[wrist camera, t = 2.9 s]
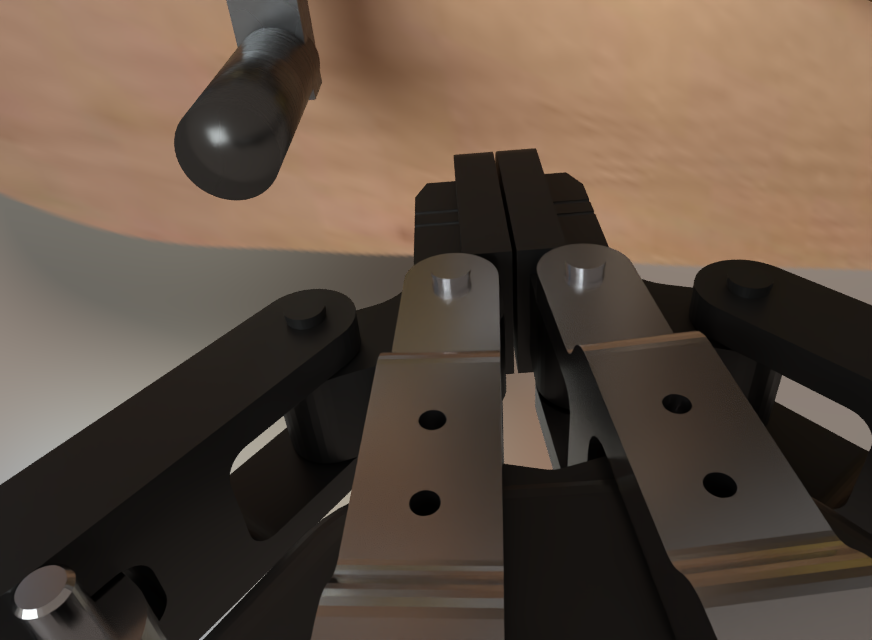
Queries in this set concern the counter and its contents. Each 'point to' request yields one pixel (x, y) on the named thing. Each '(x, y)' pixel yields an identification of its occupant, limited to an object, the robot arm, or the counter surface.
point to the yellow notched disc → (252, 101)
